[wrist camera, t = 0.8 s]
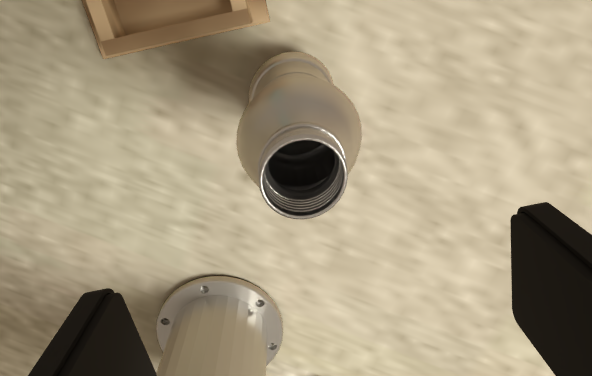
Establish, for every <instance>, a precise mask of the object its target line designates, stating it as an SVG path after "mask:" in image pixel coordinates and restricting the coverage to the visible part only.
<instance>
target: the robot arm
mask: <svg viewBox="0 0 592 376" xmlns="http://www.w3.org/2000/svg"><path fill="white" fill-rule="evenodd" d="M511 269H512V310H513V315H514V318H515V320H516V322H517V324H518V325H519V327H520V328H521V329H522V331H523V332H524V333H525V335H526V336H527V337H528V339H529V340H530V342H531V343H532V344H533V346H534V347H535V348H536V350H537V351H538V352H539V354H540V355H541V356H542V358H543V359H544V360H545V362H546V363H547V365H548V366H549V367H550V369H551V370H552V371H553V373H554V374H555V375H556V376H592V235H591V234H590V233H588V232H587V231H586V230H584V229H583V228H582V227H580V226H579V225H578V224H576V223H575V222H573V221H572V220H571V219H569V218H568V217H567V216H565V215H564V214H563V213H561V212H560V211H559V210H557V209H556V208H555V207H553V206H552V205H551V204H549V203H547V202H544V203H539V204H534V205H529V206H524V207H520V208H519V209H518V212H517V214H516V215H513V216H512V217H511ZM156 333H157V339H158V342H159V345H160V347H161V349H162V351H163V355H162V358H161V361H160V364H159V367H158V370H157V373H156V372H155V370H154V368H153V365H152V363H151V361H150V358H149V356H148V354H147V352H146V349H145V347H144V345H143V343H142V340H141V338H140V336H139V333H138V331H137V329H136V327H135V324H134V322H133V320H132V317H131V315H130V313H129V311H128V308H127V306H126V304H125V301H124V299H123V297H122V295H121V294H120V293H114V291H113V290H112V289H109V288H107V289H102V290H97V291H92V292H87V293H84V294H83V295H82V296H81V298H80V299H79V301H78V302H77V304H76V305H75V307H74V308H73V310H72V311H71V313H70V314H69V316H68V317H67V319H66V320H65V322H64V323H63V325H62V326H61V328H60V329H59V331H58V332H57V333H56V335H55V336H54V338H53V339H52V341H51V342H50V344H49V345H48V347H47V348H46V350H45V351H44V353H43V354H42V356H41V357H40V359H39V360H38V362H37V363H36V365H35V366H34V368H33V369H32V371H31V372H30V373H29V375H28V376H266V366H267V365H268V364H269V363H270V362H271V361H272V360H273V359H274V357H275V356H276V354H277V352H278V351H279V349H280V346H281V343H282V336H283V323H282V318H281V314H280V311H279V310H278V308H277V306H276V304H275V303H274V301H273V300H272V299H271V298H270V297H269V295H268V294H266V293H265V292H264V291H263V290H261V289H260V288H259V287H257V286H255V285H253V284H251V283H249V282H247V281H244V280H241V279H238V278H232V277H226V276H210V277H204V278H199V279H196V280H193V281H190V282H188V283H186V284H184V285H182V286H181V287H179V288H178V289H176V290H175V291H174V292H173V293H172V294H170V296H169V297H168V298H167V300H166V301H165V302H164V304H163V306H162V308H161V311H160V313H159V316H158V319H157V326H156Z"/></svg>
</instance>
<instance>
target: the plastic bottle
mask: <svg viewBox="0 0 592 376" xmlns="http://www.w3.org/2000/svg"><path fill="white" fill-rule="evenodd" d="M361 139H362V132H361V123H360V119H359V115H358V113H357V111H356V109H355V107H354V105H353V103H352V102H351V100H350V99H349V98H348V97H347V96H346V94H345V93H343V92H342V91H341V90H340V89H338V88H337V87H336V86H334V84H333V80H332V77H331V75H330V73H329V71H328V69H327V68H326V67H325V66H324V64H323V63H321V62H320V61H319V60H318V59H317V58H315V57H313V56H311V55H309V54H305V53H302V52H286V53H281V54H279V55H276V56H274V57H272V58H270V59H269V60H267V61H266V62H265V63H264V64H263V65H262V66H261V67H260V68H259V69H258V71H257V72H256V73H255V75H254V77H253V79H252V81H251V85H250V89H249V104H248V106H247V107H246V109H245V111H244V113H243V115H242V117H241V119H240V122H239V126H238V130H237V143H236V144H237V151H238V156H239V159H240V161H241V164H242V167H243V168H244V170H245V171H246V173H247V174H248V176H249V177H250V178H251V179H252V181H253V182H254V183H255V184H256V185H257V186H258V187H259V188H260V191H261V193H262V196H263V198H264V200H265V201H266V203H267V204H268V205H269V206H270V207H271V208H272V209H273V210H274V211H276V212H277V213H279V214H280V215H283V216H285V217H288V218H293V219H309V218H313V217H316V216H319V215H321V214H323V213H325V212H327V211H328V210H330V209H331V208H332V207H333V206H334V205H335V204H336V203H337V202H338V201H339V200H340V198H341V196H342V195H343V193H344V190H345V187H346V184H347V177H348V174H349V172H350V171H351V169H352V167H353V166H354V164H355V161H356V159H357V156H358V153H359V150H360V145H361Z"/></svg>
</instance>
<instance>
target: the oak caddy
mask: <svg viewBox="0 0 592 376" xmlns="http://www.w3.org/2000/svg"><path fill="white" fill-rule="evenodd" d="M82 2H83V5H84V8H85V11H86V13H87V16H88V19H89V21H90V24H91V27H92V30H93V32H94V35H95V38H96V40H97V43H98V46H99V49H100V51H101V54H102V57H103V59H107V58H111V57H116V56H120V55H124V54H129V53H133V52H138V51H142V50H147V49H151V48H156V47H160V46H165V45H169V44H173V43H178V42H182V41H187V40H191V39H196V38H200V37H205V36H209V35H214V34H218V33H222V32H227V31H231V30H236V29H240V28H245V27H249V26H254V25H258V24H262V23H267V22H270V19H269V14H268V9H267V5H266V0H82Z"/></svg>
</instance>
